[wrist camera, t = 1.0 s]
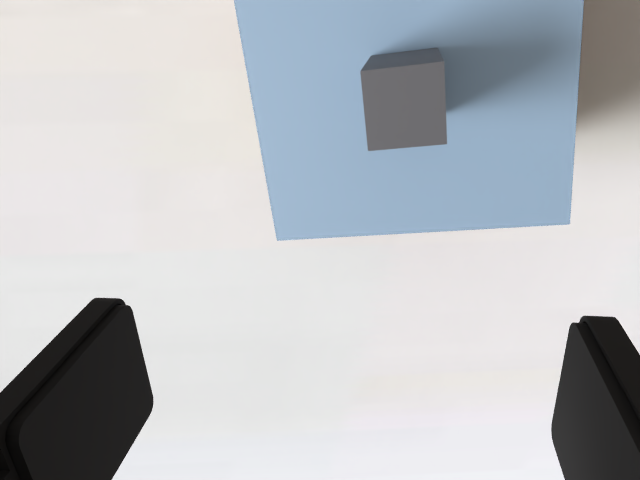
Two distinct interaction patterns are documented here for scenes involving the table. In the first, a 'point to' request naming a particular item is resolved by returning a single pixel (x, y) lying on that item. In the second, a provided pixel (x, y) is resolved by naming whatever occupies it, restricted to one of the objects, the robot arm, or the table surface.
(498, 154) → the lid
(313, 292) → the table surface
